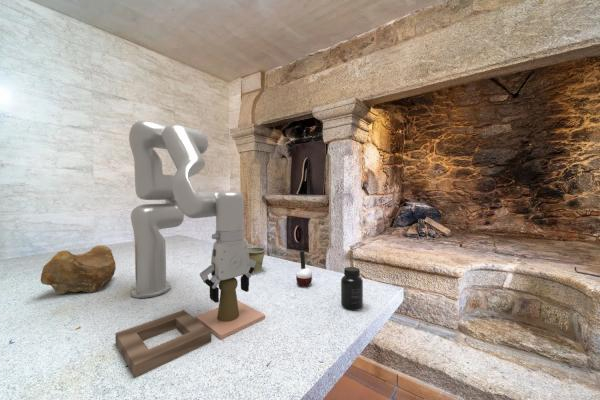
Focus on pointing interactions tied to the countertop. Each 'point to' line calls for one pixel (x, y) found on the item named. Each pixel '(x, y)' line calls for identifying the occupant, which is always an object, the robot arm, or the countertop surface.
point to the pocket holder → (149, 359)
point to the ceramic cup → (257, 258)
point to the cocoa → (304, 273)
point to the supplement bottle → (352, 289)
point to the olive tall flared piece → (228, 300)
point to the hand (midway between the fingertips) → (230, 295)
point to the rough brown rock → (79, 270)
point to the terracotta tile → (226, 329)
